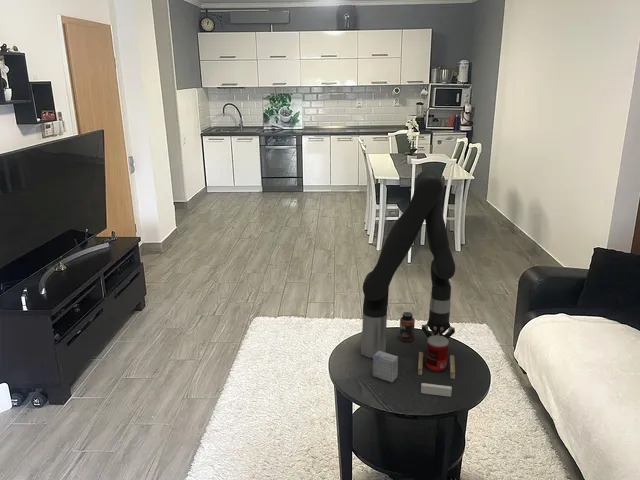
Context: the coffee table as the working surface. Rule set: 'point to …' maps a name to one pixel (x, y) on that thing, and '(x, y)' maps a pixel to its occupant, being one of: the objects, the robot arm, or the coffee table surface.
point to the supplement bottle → (407, 327)
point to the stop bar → (436, 389)
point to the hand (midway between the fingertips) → (436, 349)
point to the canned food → (437, 353)
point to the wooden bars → (452, 365)
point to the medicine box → (385, 366)
